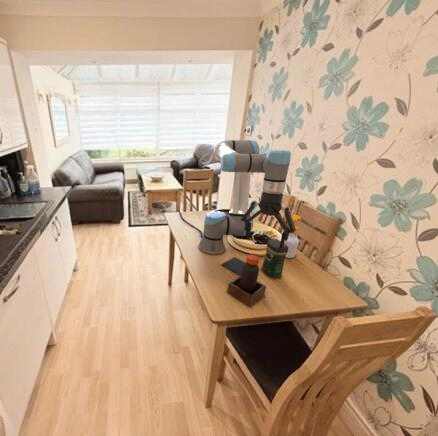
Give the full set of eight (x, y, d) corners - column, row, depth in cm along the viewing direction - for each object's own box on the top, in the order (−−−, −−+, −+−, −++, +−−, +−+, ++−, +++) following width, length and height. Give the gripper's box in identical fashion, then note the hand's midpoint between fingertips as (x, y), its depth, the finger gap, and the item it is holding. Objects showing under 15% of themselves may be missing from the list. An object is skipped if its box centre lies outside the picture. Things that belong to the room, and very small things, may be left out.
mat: (221, 265, 131) (221, 264, 131) (234, 258, 137) (234, 257, 137) (240, 276, 122) (240, 275, 122) (253, 267, 129) (253, 266, 128)
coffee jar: (284, 278, 120) (292, 246, 113) (269, 279, 120) (277, 247, 112) (272, 266, 129) (279, 236, 122) (258, 268, 128) (265, 237, 121)
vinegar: (254, 292, 111) (262, 255, 103) (252, 301, 106) (260, 263, 98) (239, 287, 114) (246, 251, 106) (236, 295, 109) (243, 258, 101)
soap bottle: (298, 256, 139) (309, 217, 129) (287, 259, 136) (297, 220, 126) (285, 248, 146) (294, 212, 136) (274, 251, 143) (283, 214, 133)
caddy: (227, 292, 111) (228, 282, 109) (241, 282, 117) (243, 273, 115) (249, 307, 103) (251, 297, 100) (264, 295, 109) (266, 286, 107)
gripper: (237, 188, 97) (230, 236, 104) (307, 199, 81) (295, 255, 88) (244, 186, 102) (238, 231, 109) (312, 195, 86) (300, 248, 93)
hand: (263, 242), depth 98 cm, fingers open, 13 cm apart
